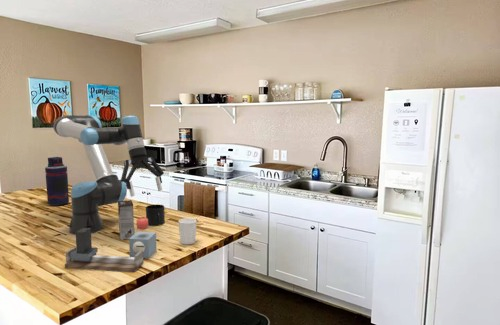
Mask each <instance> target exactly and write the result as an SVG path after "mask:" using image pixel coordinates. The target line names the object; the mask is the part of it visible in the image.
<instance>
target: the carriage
mask: <svg viewBox="0 0 500 325" xmlns="http://www.w3.org/2000/svg"><path fill="white" fill-rule="evenodd" d="M75 233H76V234H75V245H76V246H75V247H76V250H75V251H73V252H72V253H71V257H73V261H81V262H91V256H93V255H97V253H98V252H99V251H98V247H93V244H92V233H91V228H82V229H80V230H79V231H77V232H75Z"/></svg>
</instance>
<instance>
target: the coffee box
mask: <svg viewBox="0 0 500 325" xmlns="http://www.w3.org/2000/svg"><path fill="white" fill-rule="evenodd" d="M117 210H118V211H117V212H118V228H119V230H118V232H119V239H120V240H125V239H126V240H127V239H128V238H130V237H132V236H133V235H134V234H135V216H134V214H135V212H134V203H133V201H132V200H131V199H130V200H123V201H118V203H117ZM128 240H129V239H128Z"/></svg>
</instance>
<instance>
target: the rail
mask: <svg viewBox="0 0 500 325" xmlns="http://www.w3.org/2000/svg"><path fill="white" fill-rule="evenodd" d="M75 250H76V246H75V247H73V246H72V247H71V248H70V249H68V250H67V251H65V263H64V268H65V269H76V270H91V271H109V272H110V271H111V272H122V273H123V272H124V273H136V271H137V270H138V269H139V268H140V267H141V266H142V265H143V264H144V258H143V251H139V252H138V253H137V254H136V255H135V256H134V257H130V256H120V255H119V256H117V255H106V254H105V255H104V254H102V255H101V254H96V255H93V256H91V262H81V261H73V257H71V253H72V252H73V251H75Z"/></svg>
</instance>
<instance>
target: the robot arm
mask: <svg viewBox="0 0 500 325" xmlns="http://www.w3.org/2000/svg"><path fill="white" fill-rule="evenodd" d="M53 130H54V132H55V133H56V134H57V135H58V136H60V137H62V138H73V139H77V140H78V142H80V143H81V144H83V148H84V149H85V152H86V155H87V157H88V161H89V163H90V165H91V168H92V171H93V174H94V176H95V178H96V180H95V181H94V180H89V181H80V182H79V183H76V184H73V185H72V186H71V189H70V198H71V199H70V200H71V211H72V212H71V214H72V217H71V220H70V222H69V226H68V229H69V233H71V234H74V235H76V233H75V232H77V231H79V230H80V229H82V228H91V234H92V233H96V232H98V231H100V230H102V229H104V228H103V227H104V223H103V221H102V218H101V216H100V213H99V207H102V206H107V205H112V204H118V201H125V199H126V198H127V197H126V196H127V192H128V190H129V195H130V197H134V196H135V195H136V194H135V190H134V186H133V182H132V180H131V179H132V176H133V175H134V173H135V171H137V170H140V169H144V168H145V169H146V170H148V171H149V172H151V173H152V175H154V176H155V177H154V178H155V182H156V186H157V191H158V192H160V191H162V190H163V187H162V183H163V180H162V176H163V175H164V174H165V172H164V171H163V169H162V168H161V167H160V166H159V164H158V163H157V162H156V160H155V157H154V156H151V157H148V156H147V150H146V148H145V142H144V138H143V133H142V130H141V124H140V121H139V118H138V117H137V116H136V115H126V116H124V117H122V118H121V126H119V127H103V125H102V123H101V121H100V119H99V117H97V116H95V115H90V114H86V115H70V114H67V115H62V116H60V117H58V118H56V120H55V121H54V123H53ZM111 144H113V145H115V146H122V145H124V144H126V147H127V150H128V155H129V158H130V160H129V159H126V160H124V161H123V169H122V174H121V177H120V179H119V177H118V174H114V172H113V170H112V167H111V164H110V162H109V160H108V157H107V155H106V152H105V150H104V147H103V145H111ZM130 164H131V165H132V166H131V169H130V170H129V168H130V167H129V166H130ZM128 171H129V172H128ZM151 173H150V174H151Z"/></svg>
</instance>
